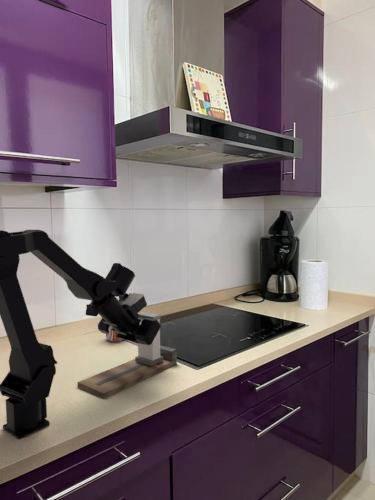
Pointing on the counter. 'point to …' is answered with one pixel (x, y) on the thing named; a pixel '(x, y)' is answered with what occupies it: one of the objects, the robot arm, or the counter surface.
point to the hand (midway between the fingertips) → (144, 342)
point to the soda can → (112, 335)
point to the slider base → (126, 374)
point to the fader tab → (152, 351)
